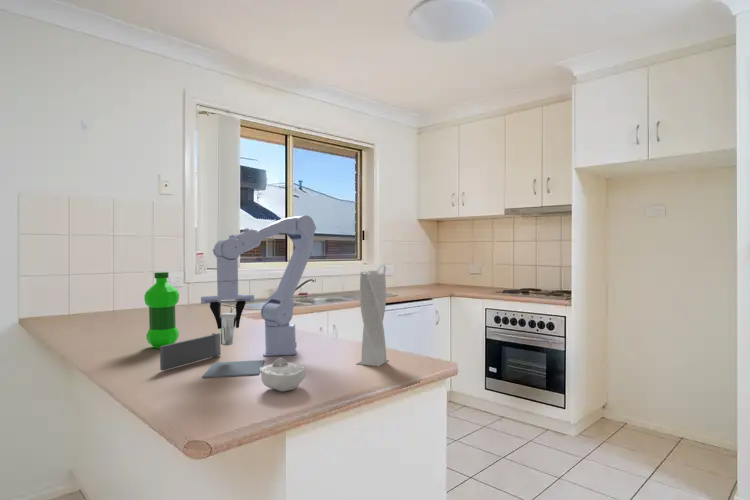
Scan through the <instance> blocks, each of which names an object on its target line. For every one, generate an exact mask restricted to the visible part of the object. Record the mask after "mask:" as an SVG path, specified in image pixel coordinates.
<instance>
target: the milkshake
mask: <svg viewBox="0 0 750 500" xmlns="http://www.w3.org/2000/svg"><path fill="white" fill-rule="evenodd" d="M233 308H234V307H230V312H223V313H221V314H220V326H221V329H220V345H222V346H232V345H233V344H234V340H235V339H234V338H235V330H236V312H235V313H234V312H233Z"/></svg>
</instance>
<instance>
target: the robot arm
mask: <svg viewBox="0 0 750 500" xmlns="http://www.w3.org/2000/svg"><path fill="white" fill-rule="evenodd" d="M316 230H317V226H316V224H315V221H314V220H313V218H312V217H311V216H310V215H306V214H305V215H299V216H289V217H285V218H281V219H279V220H276V221H274V222H272V223H270V224H268V225H266V226H264V227H262V228H260V229H257V230H256V229H254V228H249V227H246V228H243V229H242V232H240V233H237V234H230V235H228V238H226V239H225V238H223V239H219V240H218V241H216V243H215V244H214V248H212V252H213V255H214V256H215V257H216V283H217V288H216V289H217V294H216V295H209V296H205V295H204V296H201V297H200V304H201V305H205V304H209V308H210V310H211V312H212V314H213V317H214V319H215V323H216V326H217V330H221V326H220V315H221V314H222V313H221V306H222V305H221V304H228V303H233V304H234V303H235V314H236V324H235V329H239V328H240V321H241V317H242V313H243V312H244V308H245V306H246V304H247V303H255V294H239V270H238V269H239V268H238V267H239V265H238V260H239V259H238V258H239V257H240V255H242V254H244V253H246V252H248V251H250V250H253V249H255V248H257V247H259V246H260V245H261V244H262V243H261V242H262V241H263V240H266V239H268V238H270V237H273V236H276V235H278V234H281V233H282V234H286V236H287V237H288V238H289V240H290V241H291V242H292V243H293V246H294V250H293V252H292V255H291V256H290V259H289V261H288V263H287V266H286V268H285V271H284V272H283V275H282V277H281V279H280V282H279V284H278V286H277V288H276V291H275V292H273V293H272V294H271V295H270V296H269V297H268V299H267V302H265V303H264V304H263V305H262V307H261V309H260V315H261V318H262V319H263V320H264V335H265V336H264V337H265V338H264V339H265V340H264V341H265V345H264V346H265V348H264V352H263V357H269V356H270V357H272V356H291V355H296V350H297V340H296V323H290V322H291V320H292V319H293V316H294V307H295V302H294V299H293V297H294V294H295V293H296V291H297V288H298V286H299V283H300V280H301V278H302V276H303V273H304V272H305V269H306V266H307V265H308V262H309V260H310V257H311V255H312V252H313V250H314V245H315V244H314V243H315V242H314V238H315V236H314V235H315V233H316Z"/></svg>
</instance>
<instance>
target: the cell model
mask: <svg viewBox="0 0 750 500" xmlns="http://www.w3.org/2000/svg"><path fill="white" fill-rule="evenodd" d="M260 374H261V375H260V376H261V377H260V378H261V382H262V384H263V385H264V386H265V387H267V388H269V389H274V390H277V391H279V392H288V391H291V390H295V389H297V388H298V387H299V385H300V384H302V381H303V380H304V379H305V377H306V369H305V365H303V364H300V363H296V362H289V361H287V360H286V359H284V358H282V357H280V358H277V359H275V360H274V361H273V363H269V364H266V365H263V366H262V367H261V368H260Z"/></svg>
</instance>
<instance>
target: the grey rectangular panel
mask: <svg viewBox="0 0 750 500" xmlns="http://www.w3.org/2000/svg"><path fill="white" fill-rule="evenodd" d="M221 349H222V348H221V332H213V333H211V334H209V335H205V336H201V337H195V338H191V339H187V340H182V341H178V342H177V341H176V342H175V343H173V344H168V345H164V346H160V348H159V358H160V360H159V363H160V364H159V365H160V369H159V370H160V371H168V370H171V369H174V368H178V367H180V366H185V365H188V364H189V365H190V364H192V363H195V362H199V361H203V360H206V359H210V358H215V357H219V356H221V354H222V353H221Z"/></svg>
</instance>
